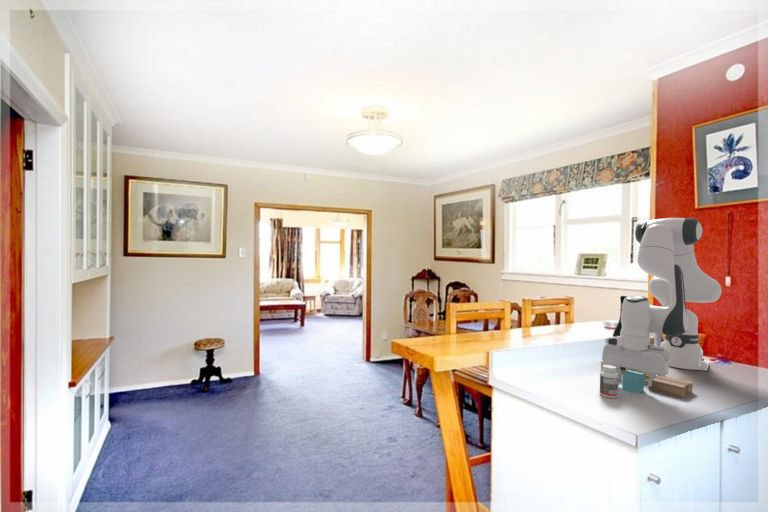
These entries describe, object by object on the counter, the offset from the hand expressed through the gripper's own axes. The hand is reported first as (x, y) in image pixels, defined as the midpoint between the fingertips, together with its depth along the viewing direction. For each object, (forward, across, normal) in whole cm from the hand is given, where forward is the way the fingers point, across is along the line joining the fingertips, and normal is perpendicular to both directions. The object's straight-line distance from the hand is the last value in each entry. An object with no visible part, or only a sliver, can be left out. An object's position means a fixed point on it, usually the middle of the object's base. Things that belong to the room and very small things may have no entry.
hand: (633, 382), depth 141 cm
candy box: (+3, +7, -24) cm, 25 cm away
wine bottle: (+3, +15, -28) cm, 32 cm away
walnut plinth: (+3, -8, -10) cm, 13 cm away
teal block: (+3, 0, 0) cm, 3 cm away
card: (+3, +2, -14) cm, 14 cm away
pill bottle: (+3, +2, +14) cm, 14 cm away
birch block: (+3, +11, -8) cm, 14 cm away
